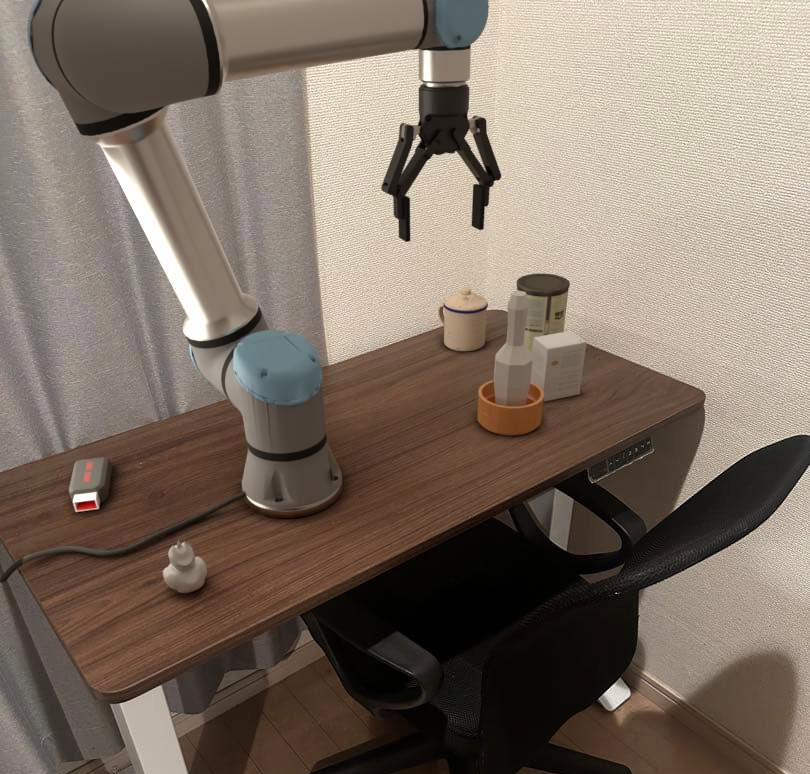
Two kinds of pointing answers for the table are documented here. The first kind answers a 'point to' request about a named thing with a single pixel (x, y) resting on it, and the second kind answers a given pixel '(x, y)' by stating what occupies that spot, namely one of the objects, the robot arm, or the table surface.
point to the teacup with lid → (464, 320)
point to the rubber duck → (184, 569)
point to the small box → (558, 364)
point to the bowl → (509, 411)
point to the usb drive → (90, 483)
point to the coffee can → (544, 305)
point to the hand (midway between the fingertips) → (441, 233)
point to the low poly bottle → (514, 357)
